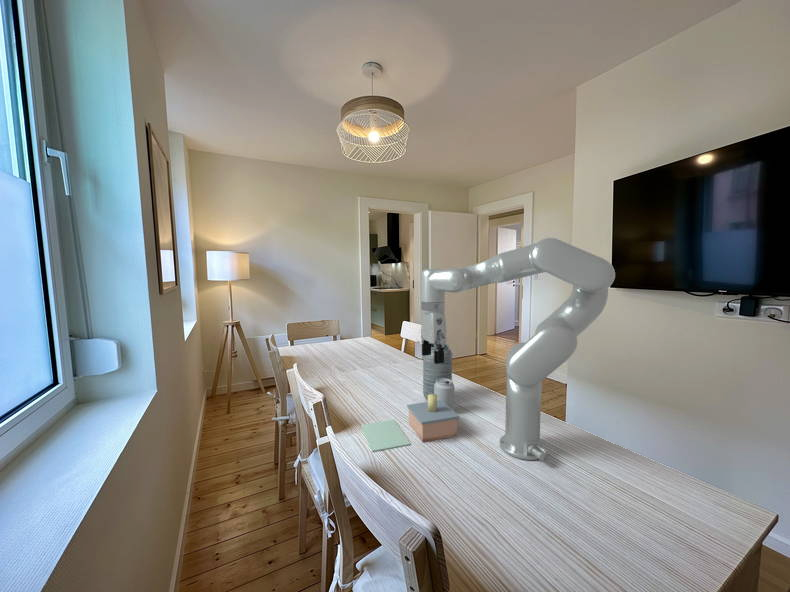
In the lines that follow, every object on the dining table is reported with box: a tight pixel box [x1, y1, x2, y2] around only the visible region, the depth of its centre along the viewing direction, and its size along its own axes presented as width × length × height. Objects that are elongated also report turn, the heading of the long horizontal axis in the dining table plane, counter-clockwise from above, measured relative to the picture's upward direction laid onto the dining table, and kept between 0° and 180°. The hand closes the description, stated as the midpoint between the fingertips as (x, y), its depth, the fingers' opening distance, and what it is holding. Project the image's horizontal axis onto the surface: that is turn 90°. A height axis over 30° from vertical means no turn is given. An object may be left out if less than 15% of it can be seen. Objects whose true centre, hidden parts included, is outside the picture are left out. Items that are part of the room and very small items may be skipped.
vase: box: [422, 343, 453, 402], centre depth 125 cm, size 12×12×23 cm
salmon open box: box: [408, 409, 458, 443], centre depth 102 cm, size 12×12×6 cm
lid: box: [406, 394, 461, 425], centre depth 102 cm, size 13×13×6 cm
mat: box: [360, 419, 412, 453], centre depth 99 cm, size 16×12×1 cm
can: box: [434, 378, 455, 412], centre depth 115 cm, size 8×8×12 cm
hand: (432, 358), depth 101 cm, fingers open, 9 cm apart
